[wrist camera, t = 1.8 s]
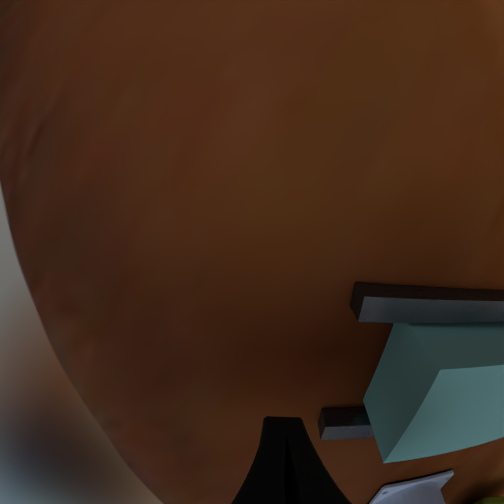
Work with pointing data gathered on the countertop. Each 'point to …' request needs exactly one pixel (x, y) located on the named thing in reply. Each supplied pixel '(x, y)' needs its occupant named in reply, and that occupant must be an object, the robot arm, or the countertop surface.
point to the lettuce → (491, 500)
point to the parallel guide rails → (407, 311)
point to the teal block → (437, 389)
